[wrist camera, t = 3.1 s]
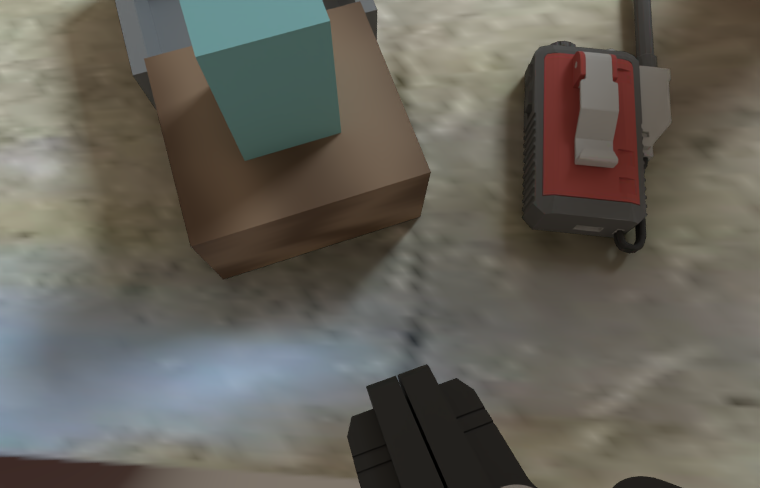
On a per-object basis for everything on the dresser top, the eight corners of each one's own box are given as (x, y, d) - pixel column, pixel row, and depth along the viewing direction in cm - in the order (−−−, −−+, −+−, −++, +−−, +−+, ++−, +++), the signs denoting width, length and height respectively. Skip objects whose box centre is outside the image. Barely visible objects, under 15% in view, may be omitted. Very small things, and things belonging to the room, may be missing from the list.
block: (312, 53, 29) (292, -79, 21) (341, 132, 28) (329, 20, 20) (220, 79, 28) (165, -48, 21) (244, 161, 27) (195, 57, 19)
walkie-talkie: (664, 263, 32) (647, -7, 39) (708, 239, 28) (680, -59, 34) (516, 248, 33) (523, -18, 39) (538, 222, 28) (541, -72, 35)
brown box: (362, 68, 36) (360, 1, 30) (420, 216, 33) (430, 172, 27) (181, 119, 34) (143, 58, 29) (223, 279, 31) (190, 246, 26)
